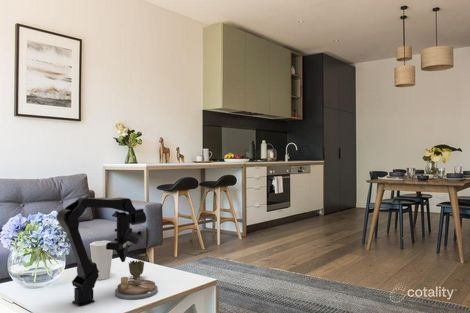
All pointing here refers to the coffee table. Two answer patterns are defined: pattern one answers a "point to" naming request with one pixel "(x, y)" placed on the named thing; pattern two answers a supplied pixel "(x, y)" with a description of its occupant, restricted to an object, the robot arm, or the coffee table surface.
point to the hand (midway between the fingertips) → (123, 261)
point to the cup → (101, 258)
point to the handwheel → (135, 286)
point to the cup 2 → (136, 268)
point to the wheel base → (137, 296)
